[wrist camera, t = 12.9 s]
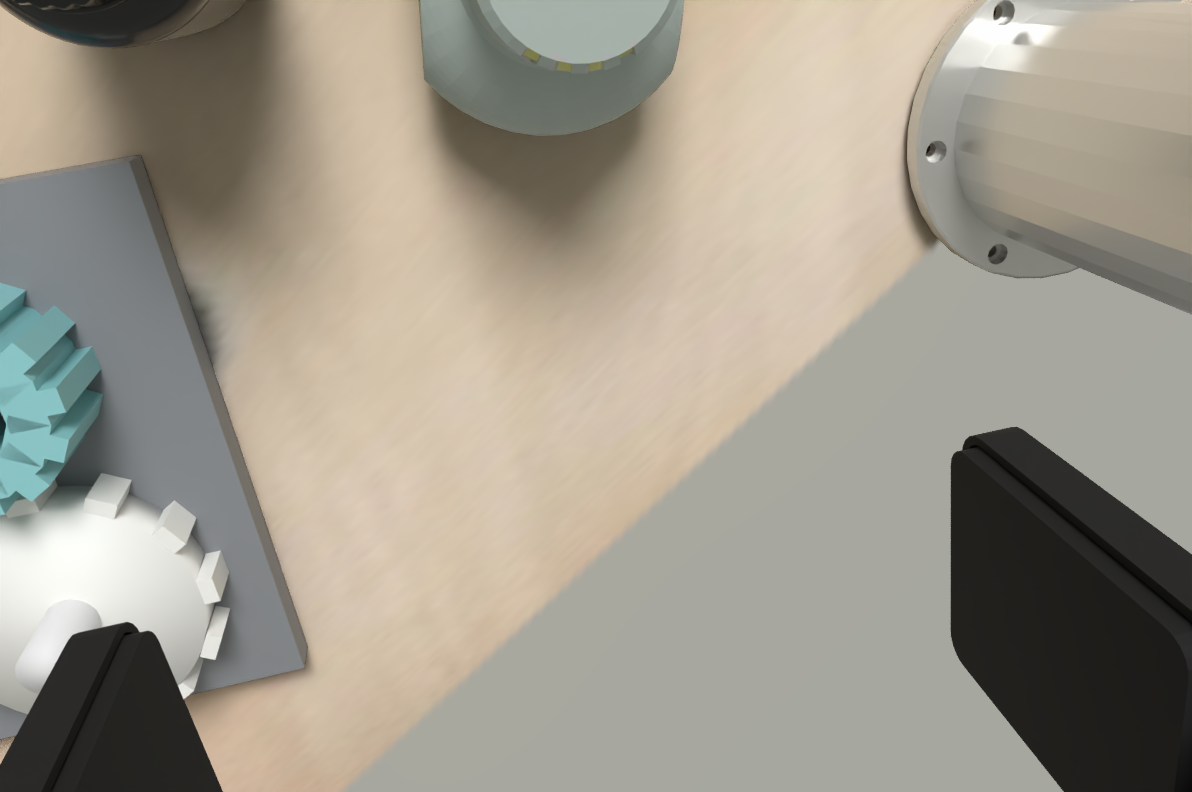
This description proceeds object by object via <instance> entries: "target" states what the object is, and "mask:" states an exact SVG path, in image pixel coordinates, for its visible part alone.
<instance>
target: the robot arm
mask: <svg viewBox="0 0 1192 792" xmlns="http://www.w3.org/2000/svg"><path fill="white" fill-rule="evenodd" d="M995 8H996V14H995V16H994V17H993V13H994V9H995ZM929 145H930V151H929V152H928V153H927V154H926V151H927V148H928V146H929ZM907 163H908V170H909V176H910V183H911V188H912V191H913V194H914V197H915V199H916V202H917V205H918V208H919V210H920V213H921V215H922V216H923V218H924V219H925V221H926V222H927V224H928V226H929V227H930V229H931V230H932V232H933V234H934V235H935V236H936V237H937V238H938V239H939V240H940V241H941V242H942V243H943V244H944V245H945V246H946V247H947V248H948V249H949V250H950V251H951V252H953V253H955V254H956V255H958V256H960V257H961V258H963V259H965V260H966V261H968V262H969V263H971V264H973V265H975V266H978V267H980V268H982V269H984V270H986V271H988V272H991V273H995V274H1000V275H1004V276H1009V277H1014V278H1044V277H1049V276H1053V275H1058V274H1063V273H1068V272H1070V271H1073V270H1075V269H1078V268H1082V269H1084V270H1087V271H1089V272H1091V273H1094V274H1096V275H1099V276H1101V277H1103V278H1106V279H1108V280H1111V281H1113V282H1115V283H1118V284H1120V285H1122V286H1125V287H1127V288H1130V289H1132V290H1134V291H1137V292H1139V293H1142V294H1144V295H1146V296H1149V297H1151V298H1154V299H1156V300H1158V301H1161V302H1163V303H1166V304H1168V305H1170V306H1173V307H1175V308H1177V309H1180V310H1182V311H1185V312H1187V313H1190V314H1192V2H1182V1H1181V0H976V1H975V2H974V3H973V4H972V5H971V6H970V7H968V8H967V9H966V10H965V11H964V12H963V13H962V14H961V16H960V17H959V18H958V19H957V21H956V22H955V23H954V24H953V26H952V27H951V28H950V29H949V31H948V32H947V33H946V34H945V36H944V37H943V38H942V40H941V42H940V43H939V45H938V47H937V49H936V50H935V52H934V54H933V56H932V57H931V59H930V61H929V63H928V64H927V66H926V68H925V71H924V74H923V76H922V79H921V82H920V84H919V87H918V89H917V92H916V95H915V97H914V102H913V107H912V111H911V116H910V121H909V126H908V142H907ZM951 637H952V642H953V646H954V649H955V651H956V653H957V656H958V658H959V660H960V661H961V663H962V664H963V665H964V667H965V668H966V669H967V670H968V672H969V673H970V674H971V676H973V678H974V679H975V681H976V682H977V683H978V684H979V686H980V687H981V688H982V689H983V691H984V692H985V693H986V694H987V696H988V697H989V698H990V699H991V701H992V702H993V703H994V704H995V706H996V707H997V708H998V710H999V711H1000V712H1001V713H1002V714H1003V716H1004V717H1005V718H1006V719H1007V721H1008V722H1009V723H1010V725H1011V726H1012V727H1013V728H1014V729H1015V731H1016V732H1017V733H1018V735H1019V736H1020V737H1021V738H1022V740H1023V741H1024V742H1025V743H1026V745H1027V746H1028V747H1029V748H1030V750H1031V751H1032V752H1033V753H1034V755H1035V756H1036V757H1037V758H1038V760H1039V761H1040V762H1041V764H1042V765H1043V766H1044V767H1045V769H1046V770H1047V771H1048V772H1049V774H1050V775H1051V776H1052V777H1053V779H1054V780H1055V781H1056V782H1057V784H1058V785H1059V786H1060V787H1061V789H1062V790H1063V791H1064V792H1192V554H1190V553H1189V552H1188V551H1186V550H1185V549H1184V548H1182V547H1181V546H1180V545H1178V544H1177V543H1176V542H1174V541H1173V540H1171V539H1170V538H1169V537H1167V536H1166V535H1165V534H1163V533H1162V532H1161V531H1159V530H1158V529H1157V528H1155V527H1154V526H1153V525H1151V524H1150V523H1148V522H1147V521H1146V520H1144V519H1143V518H1141V517H1140V516H1139V515H1138V514H1136V513H1135V512H1134V511H1132V510H1131V509H1129V508H1128V507H1127V506H1125V505H1124V504H1123V503H1121V502H1120V501H1119V500H1117V499H1116V498H1115V497H1113V496H1112V495H1111V494H1109V493H1108V492H1106V491H1105V490H1104V489H1102V488H1101V487H1100V486H1098V485H1097V484H1096V483H1094V482H1093V481H1091V480H1090V479H1089V478H1088V477H1086V476H1084V475H1083V474H1082V473H1081V472H1079V471H1078V470H1077V469H1075V468H1074V467H1073V466H1071V465H1070V464H1069V463H1067V462H1066V461H1064V460H1063V459H1062V458H1060V457H1059V456H1058V455H1056V454H1055V453H1054V452H1052V451H1051V450H1050V449H1048V448H1047V447H1046V446H1044V445H1043V444H1041V443H1040V442H1039V441H1037V440H1036V439H1035V438H1033V437H1032V436H1030V435H1029V434H1028V433H1027V432H1025V431H1024V430H1022V429H1020V428H1018V427H1010V428H1006V429H1002V430H997V431H992V432H987V433H983V434H978V435H974V436H970V437H968V438H967V439H966V440H965V442H964V445H963V450H962V451H957V452H956V453H954V455H953V457H952V461H951ZM0 792H223V791H222V789H221V786H220V784H219V782H218V779H217V777H216V775H215V772H214V770H213V768H212V765H211V763H210V760H209V758H208V756H207V753H206V751H205V749H204V746H203V744H202V742H201V739H200V737H199V734H198V732H197V730H196V727H195V725H194V723H193V720H192V718H191V716H190V713H189V711H188V708H187V706H186V704H185V701H184V699H183V697H182V694H181V692H180V690H179V687H178V685H177V682H176V680H175V678H174V675H173V673H172V671H171V668H170V666H169V664H168V661H167V659H166V656H165V654H164V652H163V649H162V647H161V645H160V642H159V640H158V638H157V637H156V635H155V634H154V633H153V632H152V631H144V632H139V630H138V628H137V627H136V626H135V625H134V624H133V623H130V622H124V623H120V624H115V625H111V626H106V627H101V628H97V629H92V630H88V631H83V632H79V633H76V634H73V635H72V636H71V637H70V639H69V640H68V641H67V643H66V645H65V647H64V649H63V650H62V652H61V654H60V656H59V658H58V660H57V661H56V663H55V665H54V667H53V669H52V671H51V673H50V674H49V676H48V678H47V680H46V682H45V684H44V685H43V687H42V689H41V691H40V693H39V695H38V696H37V698H36V700H35V702H34V704H33V706H32V707H31V709H30V711H29V713H28V715H27V717H26V718H25V720H24V722H23V724H22V726H21V728H20V729H19V731H18V733H17V735H16V737H15V739H14V741H13V742H12V744H11V746H10V748H9V750H8V752H7V753H6V755H5V757H4V759H3V761H2V763H1V764H0Z"/></svg>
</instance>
